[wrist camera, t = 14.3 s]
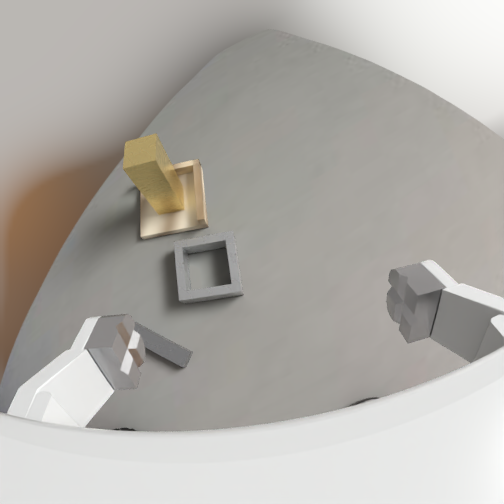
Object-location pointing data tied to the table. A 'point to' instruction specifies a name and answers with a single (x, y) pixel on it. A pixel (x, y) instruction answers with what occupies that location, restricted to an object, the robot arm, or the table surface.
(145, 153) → the yellow wooden block
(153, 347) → the gray rectangular bar
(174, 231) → the rack plate
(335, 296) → the table surface
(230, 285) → the socket collar
